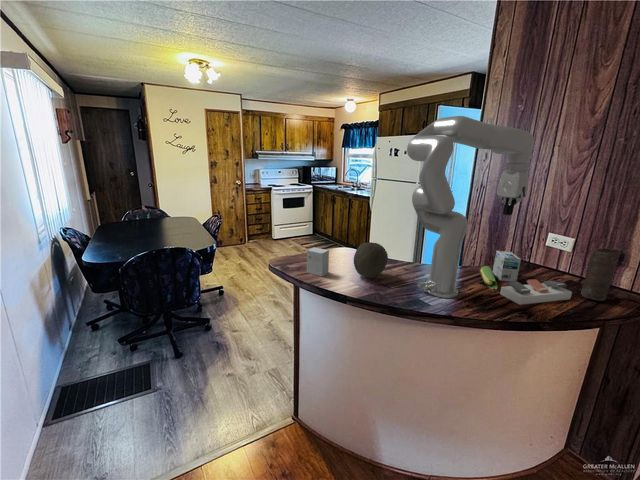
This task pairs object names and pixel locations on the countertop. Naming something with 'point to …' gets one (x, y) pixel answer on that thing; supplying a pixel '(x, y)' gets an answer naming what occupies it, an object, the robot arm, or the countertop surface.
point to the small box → (317, 261)
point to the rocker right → (554, 284)
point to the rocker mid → (537, 285)
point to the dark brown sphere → (370, 259)
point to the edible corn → (488, 277)
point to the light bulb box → (506, 266)
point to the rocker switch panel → (536, 294)
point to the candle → (600, 273)
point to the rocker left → (519, 287)
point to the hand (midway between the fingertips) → (507, 214)
